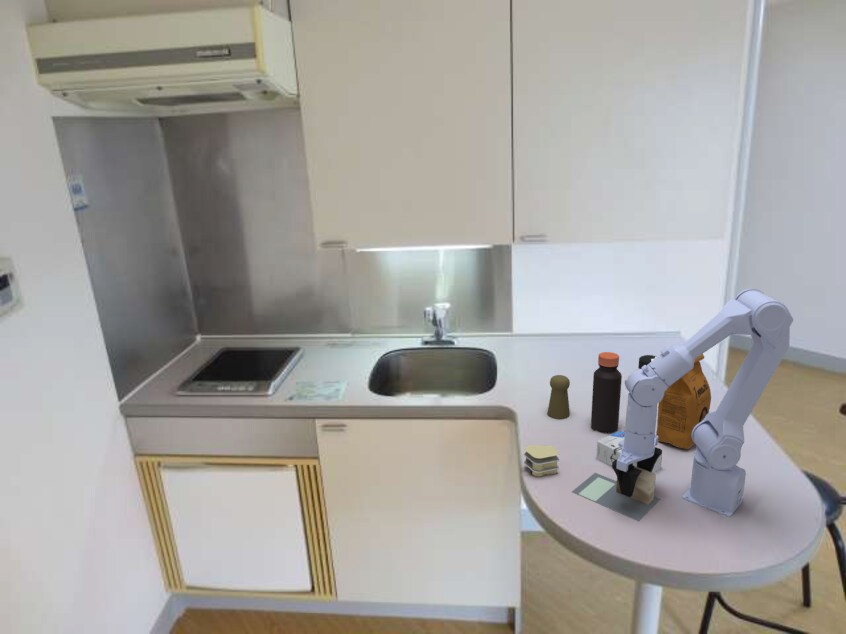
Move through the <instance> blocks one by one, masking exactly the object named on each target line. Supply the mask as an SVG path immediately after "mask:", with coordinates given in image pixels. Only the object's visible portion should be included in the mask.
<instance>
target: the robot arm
mask: <svg viewBox="0 0 846 634" xmlns="http://www.w3.org/2000/svg"><path fill="white" fill-rule="evenodd" d="M793 322H794V318H793V316H792V315H791V312H790V310H789V309H788V307H787V306H786V305H785V304H784V303H782V302H781V301H778V300H776V299H775V298H773V297H770V296H768V295H767V294H765V293H764V292H763V291H761V290H760V289H757V288H745V289H743V290H741V291H740V292H738V294H737V295H735V297H734V298H731V299H730V300H728V301H727V302H726V303H725V304H724V306H723V307H722V309H721V310H720V312H718V313H717V314H716V315H715V316H714V317H712V318H711V319H710V320H709V321H708V322H707V323H706V324H705V325H703V326H702V327H701V328H700V329H698V331H696V332H695V334H693V335H692V336H691V337H690V338H689V339H687V341H685V342H684V343H683V344H682V345H677V344H675V345H674V344H673V345H671V346H669V347H668V348H667V347H664V348H663V349H661V350H660V353H661V354H659V355H658V356H657V358H655V359H654V360H653V361H652V362H650V363H649V364H648V365H647V366H646V365H644V366H643V367H641V368H642V369H640V370H638V369H636V370H633V371H631V372H630V373H629V374H628V376H627V378H626V379H625V380H624V385H625V389H626V390H627V391H628V394H627V404H626V410H625V411H626V412H625V414H626V415H625V426H624V433H625V436H624V440H621V441H620V442H619V443H618V446H620V447H622V450H621V454H620V457H619V459H618V460H617V459H616V460H615V461H613V462H612V466H611V468H612V470H613V471H614V473H615V475H616V479H617V478H618V481H619V486H620V491H621V494H623V495H625V496H628V497H631V496H632V495H633V492H634V488H635V484H636V481H637V478H638V476H639V475H640V473H641V472H642V470H639V469H637V468H634V466H633V463H635V462H637V467H638V468H641V469H644V470H646V471H649V472H652V470H653V468H654V465H655V463H656V461H657V459H658V458H659V456H660V455H661V454H662V455H663V449H661V448H659V447H657V445H658V444H659V441H658V436H656V429H657V426H656V425H657V418H658V404H659V402H660V401H661V400H662V398H663V396H664V392H665V391H666V390H667V388H668V387H669V386H671V385H672V384H673V383H675V382H676V381H677V380H678V379H680V378H681V377H682V376H684V375H685V374H686V373H688V372H689V371H690V370H692V369H693V367H694V361H695V359H696V358H697V357H698V356H700V355H701V354H703V355H704V353H706V352H707V351H709V350H710V349H711V348H713V347H715V346H716V345H718V344H719V343H720V342H722V341H724V340H725V339H726V338H728V337H729V336H731V335H743V336H744V335H745V336H746V335H747V336H749V335H750V336H751V339H752V340H753V343H752V346H751V348H750V350H748V353H747V354H746V356H745V358H744V360H743V362H742V364H740V365H741V366H740V367H739V369H738V371H737V373H736V375H735V376H734V378H733V380H732V381H731V384H730V385H729V387H728V388H727V390H726V392H725V394H724V396H723V398H722V400H720V403H719V404H718V406H717V409H716V410H714V411H711V412H709V413H708V414H707V415H706V416H705V418H704V419H703V421H701V422H700V423H699V424H697V425H696V426H695V427H694V429H693V431H692V440H693V442H694V443H695V444H694V445H695V446H696V447H695V451H694V452H693V453H694V455H693V462H692V463H693V464H692V470H691V471H692V472H691V480H690V487H689V488H688V489H687V491H685V493H683V495H682V496H681V498H682V500H685V501H687V502H691V503H692V504H696V505H698V506H701V507H703V508H706V509H708V510H710V511H713V512H716V513H719V514H721V515H724V516H727V517H732V516H733V514H734V513H735V511H736V510H737V509H738V507H739V506H740V505H741V503H742V502H743V501H744V489H745V483H746V474H747V473H746V469H744V468H742V467H741V466H738V465H737V464H738V463H739V462H740V460H741V455H742V453H741V450H742V447H743V445H744V444H745V433H744V432H745V431H744V425H745V423H746V422H747V421H748V419H749V417H750V415H751V413H752V412H753V410H754V408H755V406H756V404H757V403H758V402H759V400H760V398H761V396H762V394H763V392H764V391H765V389H766V388H767V385H768V384H769V383H770V381H771V379H772V377H773V375H774V374H775V373H776V371H777V369H778V367H779V365H780V364H781V362H782V360H783V359H784V356H785V355H786V353H787V352H788V349H789V347H790V337H791V336H790V334H791V333H790V329H791V328H790V327H791V326H792V323H793Z"/></svg>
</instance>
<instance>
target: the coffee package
mask: <svg viewBox="0 0 846 634" xmlns="http://www.w3.org/2000/svg"><path fill="white" fill-rule="evenodd" d="M704 359H705V355H704V353H703V354H701V355H700V356H698V357H697V358H696V359H695V361H694V367H693V369H692V370H690V371H689V372H688V373H686V374H685V375H684V376H682V377H681V378H680V379H678V380H677V381H676V382H675V383H673V384H672V385H671V386H669V387H668V388H667V390H666V391H665V392H664V396H663V398H662V400H661V401H660V402H658V405H657V419H656V425H657V426H656V433H655V435H656V436H658V442H662V443H666V444H670V445H673V446H674V447H677V448H680V449H685V450H688V449H689V448H691V447H692V446H694V445H696V444H695V443H694V442H693V440H692V431H693V429H694V427H695V426H696V425H697V424H699V423H700V422H701V421H703V419H704V418H705V416H706V415H707V414H708V413H710V408H711V403H712V394H711V393H712V392H711V387H710V385H709V381H708V380H707V377H706V376H705V374H704V372H703V367H702V365H701V362H700V361H702V360H704Z"/></svg>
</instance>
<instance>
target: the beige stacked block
mask: <svg viewBox="0 0 846 634" xmlns="http://www.w3.org/2000/svg"><path fill="white" fill-rule="evenodd" d="M523 450H524V451H525V453H524V454H523V455H524V457H525V460H524V461H523V464H524V465H525V466H526V467H528V469H529V470H531V471H532V472H531V473H533V475H535V476H534V477H536V476H541V477H543V476H545V475H544V474H546V475H554V474H557V473H558V470H559V469H560V467H559V465H558V462H560V458H559V457H558V456H559V455H560V453H559V451H558V450H557V448H555V446H554V445H537V444H529V445H526V446H525V447H524V449H523ZM533 475H532V476H533Z"/></svg>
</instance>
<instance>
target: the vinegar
mask: <svg viewBox="0 0 846 634" xmlns="http://www.w3.org/2000/svg"><path fill="white" fill-rule="evenodd" d="M619 363H620V355H619V354H617V353H615V352H613V351H612V352H611V351H605V352H604V351H603V352H600V353H599V354H598V360H597V365H598V368H597V369H595V370H594V372H593V381H592V395H591V397H592V398H591V400H592V401H591V416H590V417H591V419H590V427H591V429H593V430H594V431H595V432H597V433H600V434H601V433H602V434H614V433H616V432H618V429H619V424H620V422H619V421H620V408H621V407H620V406H621V405H620V404H621V394H622V392H621V391H622V378H623V377H622V373H621V372H620V371H619V370H618V367H619V365H620V364H619Z"/></svg>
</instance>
